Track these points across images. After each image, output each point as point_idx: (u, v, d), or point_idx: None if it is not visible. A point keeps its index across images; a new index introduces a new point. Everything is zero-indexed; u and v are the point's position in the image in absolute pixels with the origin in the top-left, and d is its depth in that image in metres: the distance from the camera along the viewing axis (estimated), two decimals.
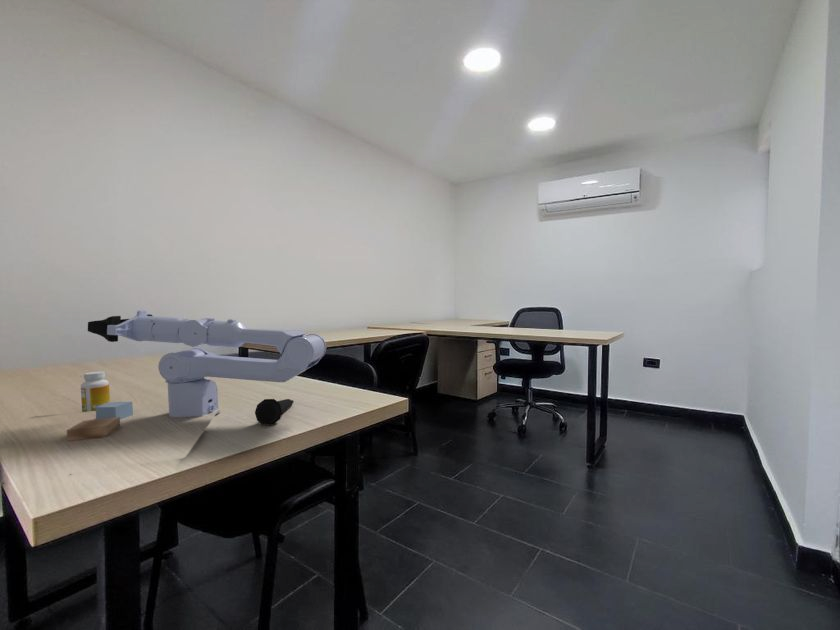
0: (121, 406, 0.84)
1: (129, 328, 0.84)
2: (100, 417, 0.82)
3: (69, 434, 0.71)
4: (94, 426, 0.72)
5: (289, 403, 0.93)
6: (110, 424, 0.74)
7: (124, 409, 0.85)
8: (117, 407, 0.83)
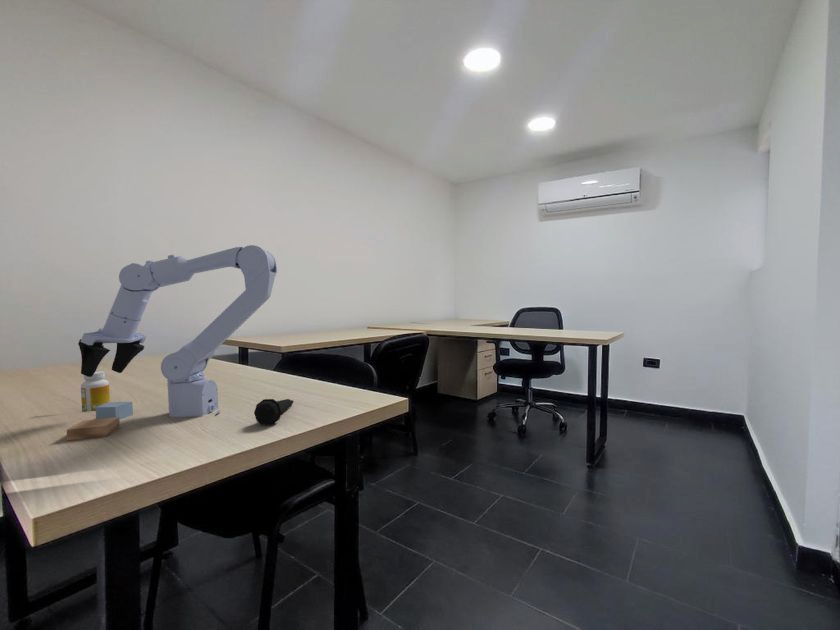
0: (121, 406, 0.84)
1: None
2: (100, 417, 0.82)
3: (68, 433, 0.71)
4: (94, 426, 0.72)
5: (289, 403, 0.93)
6: (110, 424, 0.74)
7: (124, 409, 0.85)
8: (117, 407, 0.83)
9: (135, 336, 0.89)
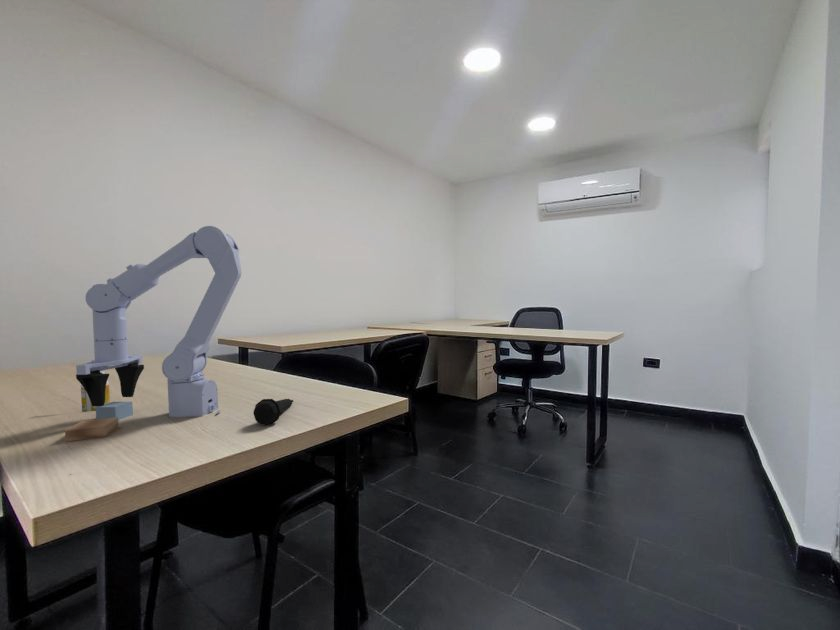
0: (121, 406, 0.84)
1: None
2: (100, 417, 0.82)
3: (67, 434, 0.70)
4: (92, 426, 0.72)
5: (288, 403, 0.93)
6: (109, 424, 0.74)
7: (124, 409, 0.85)
8: (117, 407, 0.83)
9: (130, 358, 0.88)
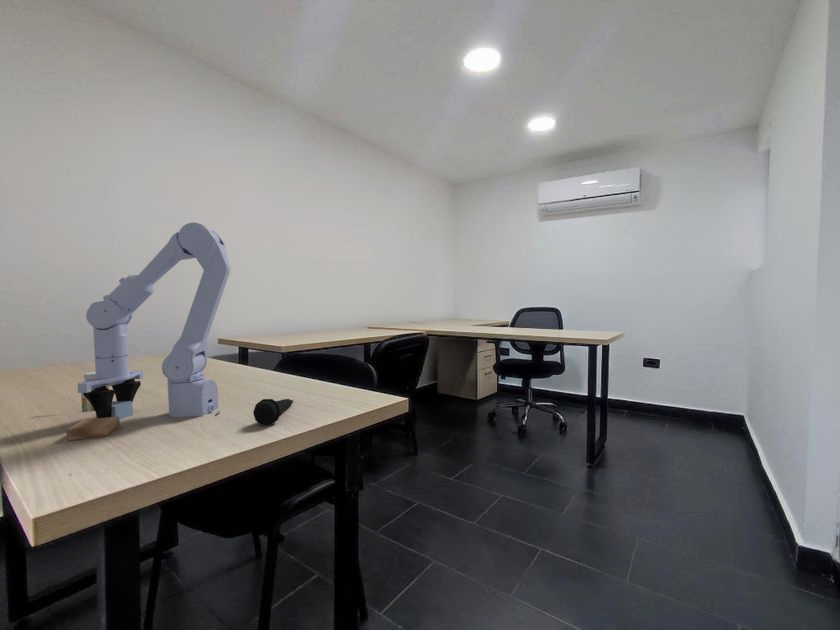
0: (121, 406, 0.84)
1: None
2: None
3: (68, 433, 0.70)
4: (94, 426, 0.72)
5: (288, 403, 0.93)
6: (110, 423, 0.74)
7: (124, 408, 0.85)
8: (117, 407, 0.83)
9: (131, 373, 0.89)
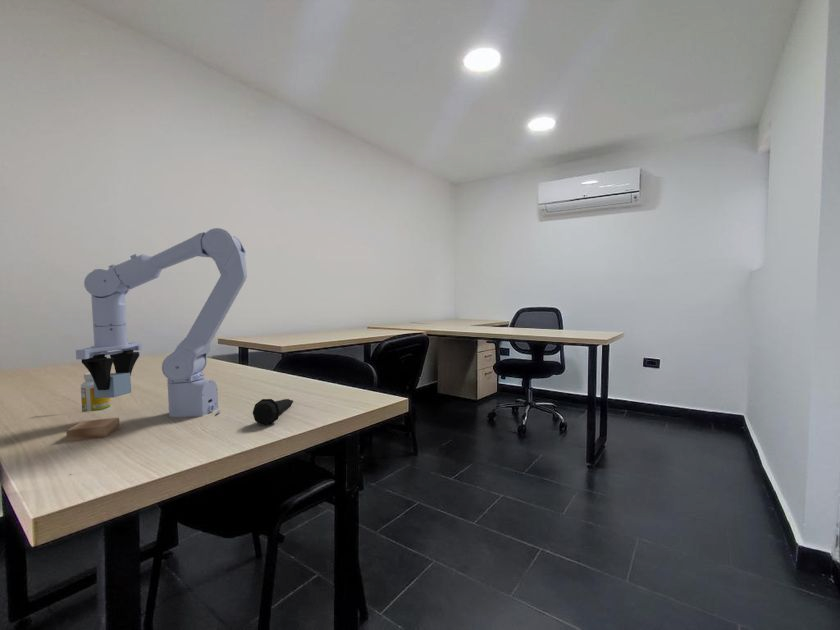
0: (119, 376, 0.83)
1: None
2: None
3: (68, 434, 0.70)
4: (94, 426, 0.72)
5: (288, 403, 0.93)
6: (110, 424, 0.74)
7: (122, 379, 0.84)
8: (115, 377, 0.82)
9: None
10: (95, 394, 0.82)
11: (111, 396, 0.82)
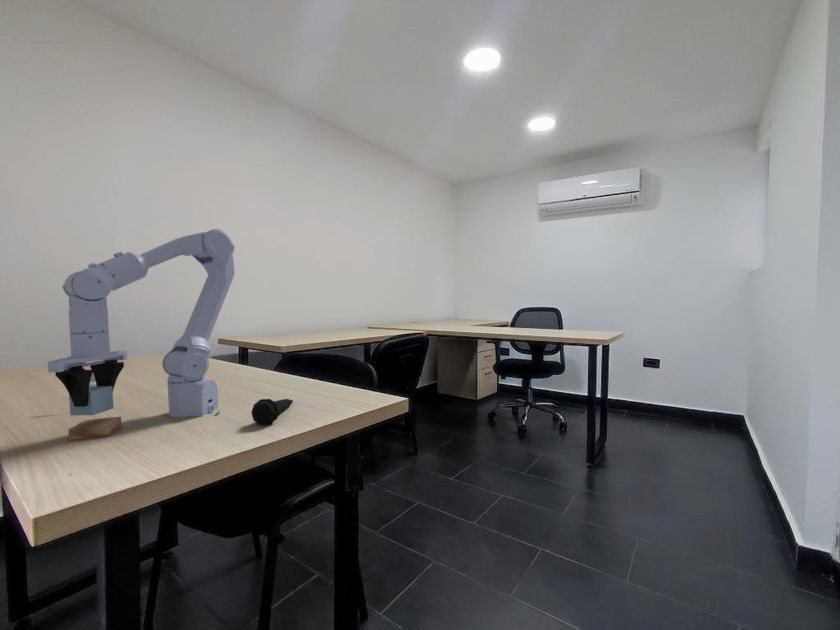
0: (98, 391, 0.73)
1: None
2: None
3: (70, 433, 0.71)
4: (96, 425, 0.72)
5: (287, 403, 0.93)
6: (112, 423, 0.74)
7: (102, 394, 0.74)
8: (93, 392, 0.72)
9: None
10: (71, 411, 0.72)
11: (89, 414, 0.72)
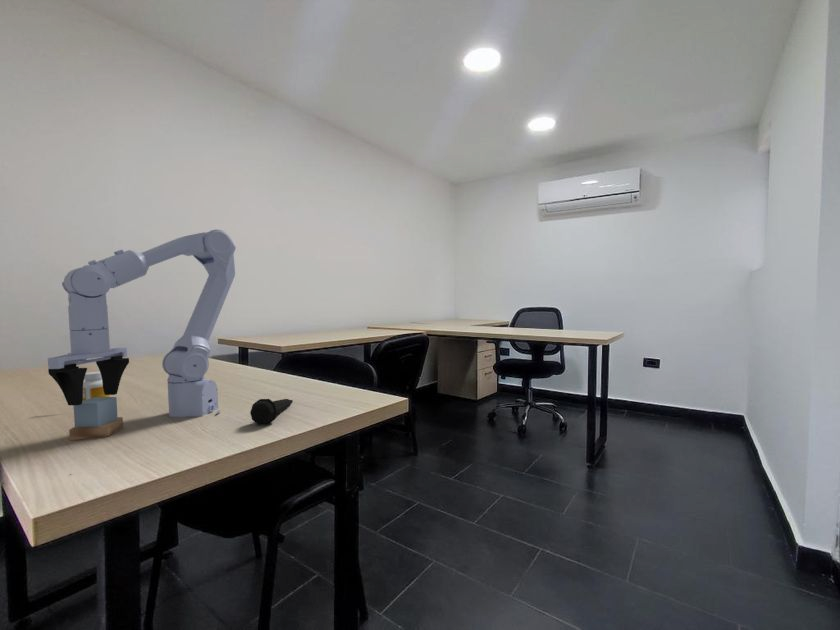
0: (104, 402, 0.73)
1: None
2: (79, 415, 0.72)
3: (71, 433, 0.71)
4: None
5: (287, 403, 0.93)
6: (112, 424, 0.74)
7: (108, 405, 0.74)
8: (99, 403, 0.72)
9: None
10: (75, 423, 0.72)
11: (95, 425, 0.72)
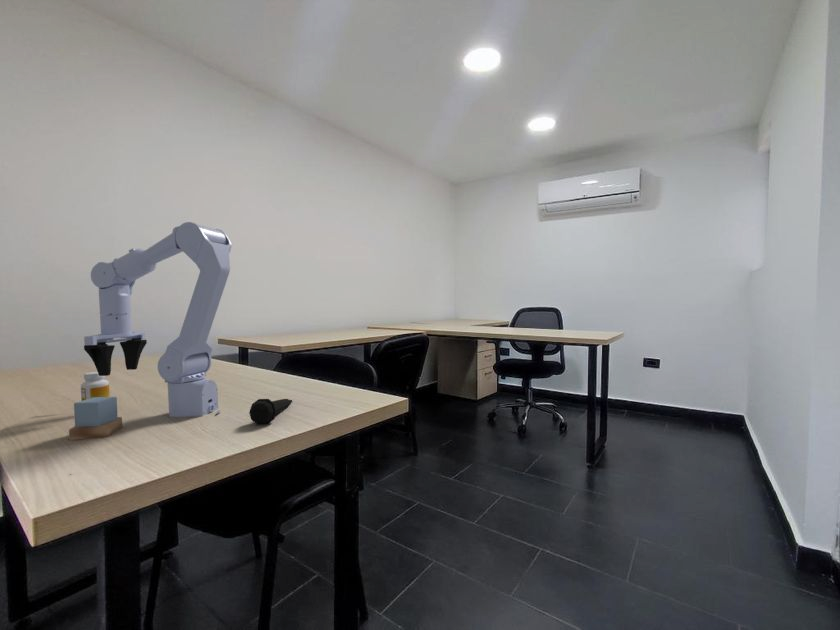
0: (104, 401, 0.74)
1: None
2: (79, 414, 0.72)
3: (71, 433, 0.71)
4: (96, 426, 0.72)
5: (286, 403, 0.93)
6: (112, 424, 0.74)
7: (108, 405, 0.75)
8: (100, 403, 0.73)
9: (134, 333, 0.95)
10: (76, 423, 0.72)
11: (95, 425, 0.72)
